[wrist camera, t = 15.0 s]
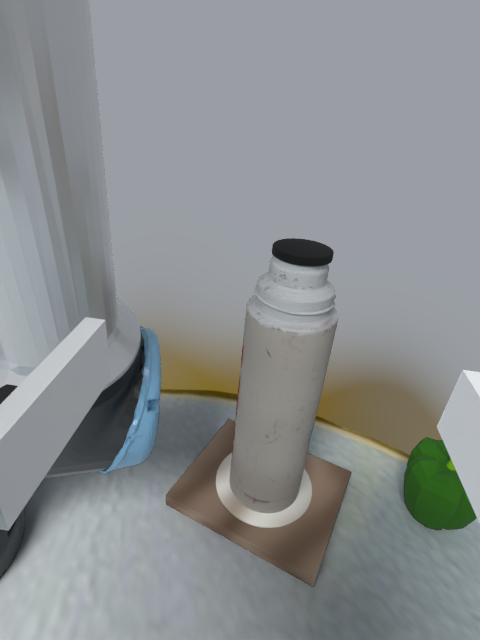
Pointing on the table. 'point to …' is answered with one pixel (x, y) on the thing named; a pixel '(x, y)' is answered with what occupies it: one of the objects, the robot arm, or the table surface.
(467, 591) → the table surface
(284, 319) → the thermos bottle
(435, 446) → the bell pepper
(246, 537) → the docking mat
